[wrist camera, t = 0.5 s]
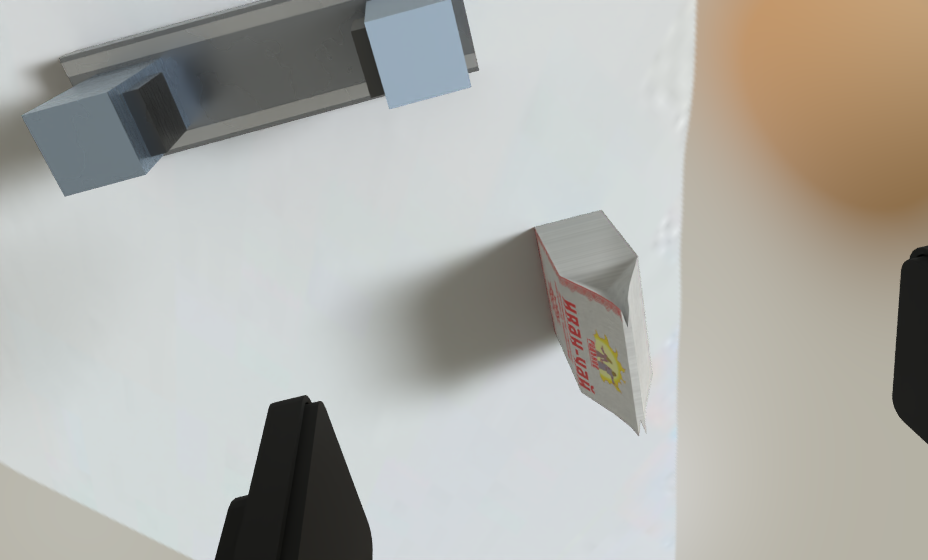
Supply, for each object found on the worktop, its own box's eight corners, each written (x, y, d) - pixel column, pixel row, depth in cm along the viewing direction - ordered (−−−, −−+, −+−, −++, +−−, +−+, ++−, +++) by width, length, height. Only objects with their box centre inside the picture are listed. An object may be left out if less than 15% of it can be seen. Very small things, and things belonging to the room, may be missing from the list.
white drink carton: (601, 209, 38) (670, 297, 29) (617, 316, 41) (683, 424, 32) (534, 226, 38) (582, 320, 29) (554, 332, 41) (604, 445, 32)
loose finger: (352, 5, 30) (346, 27, 24) (435, -17, 30) (450, -1, 24) (373, 75, 32) (373, 113, 25) (452, 54, 32) (471, 86, 25)
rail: (76, 50, 32) (-24, 94, 24) (447, -51, 32) (472, -41, 24) (127, 156, 34) (51, 228, 26) (473, 62, 34) (504, 106, 26)
